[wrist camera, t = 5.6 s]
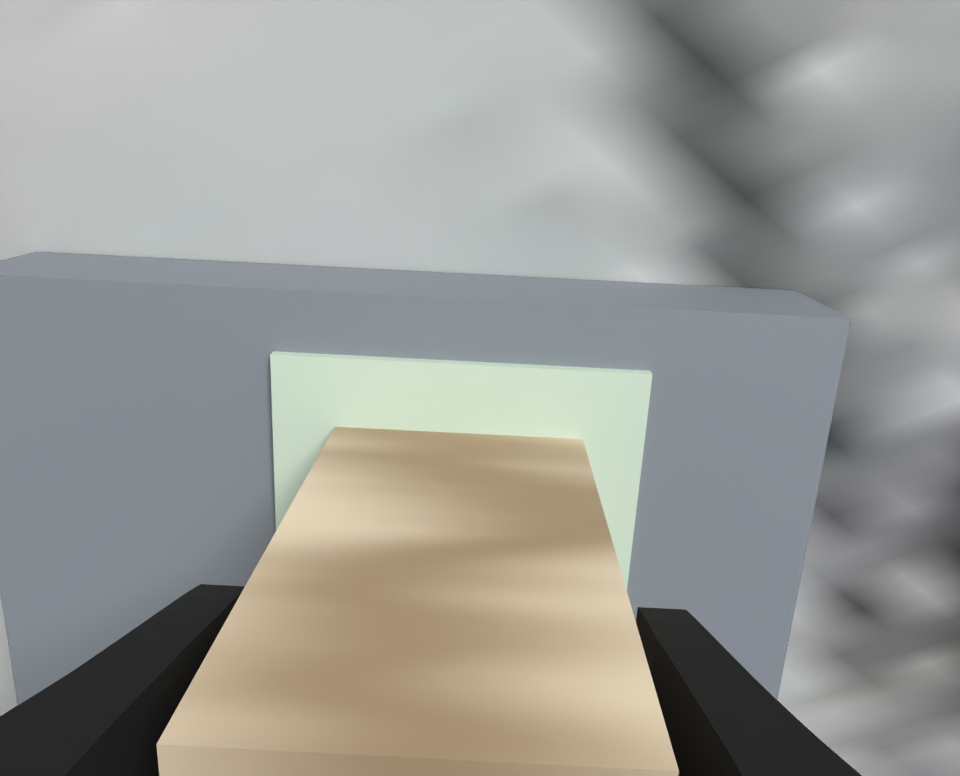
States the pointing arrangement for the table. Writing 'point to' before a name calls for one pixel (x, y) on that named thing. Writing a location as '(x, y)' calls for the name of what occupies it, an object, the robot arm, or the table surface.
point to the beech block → (430, 625)
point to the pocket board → (390, 426)
